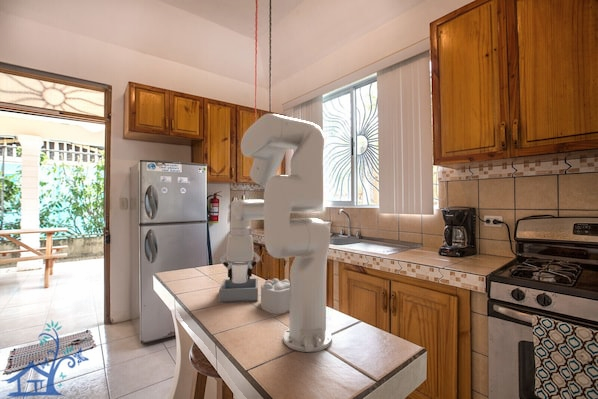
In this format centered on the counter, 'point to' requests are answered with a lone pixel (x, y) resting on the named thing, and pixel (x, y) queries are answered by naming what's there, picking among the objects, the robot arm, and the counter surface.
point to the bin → (238, 291)
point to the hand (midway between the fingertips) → (239, 278)
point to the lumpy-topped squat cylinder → (275, 296)
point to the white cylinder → (239, 272)
